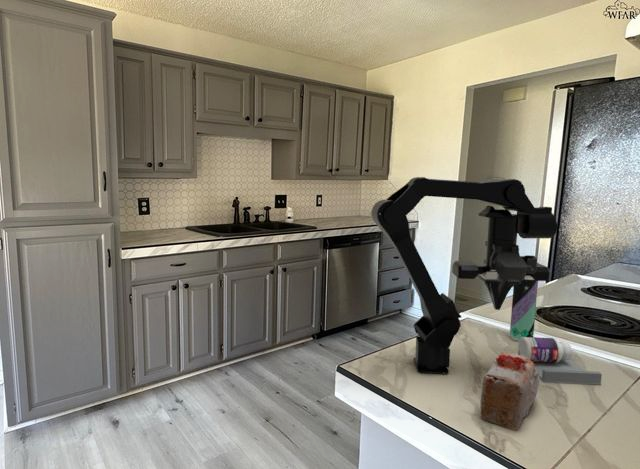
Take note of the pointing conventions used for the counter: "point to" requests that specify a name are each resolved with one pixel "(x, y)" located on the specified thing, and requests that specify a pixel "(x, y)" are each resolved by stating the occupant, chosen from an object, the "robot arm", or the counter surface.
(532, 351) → the pill bottle
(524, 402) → the food item
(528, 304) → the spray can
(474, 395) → the counter surface
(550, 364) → the tray
